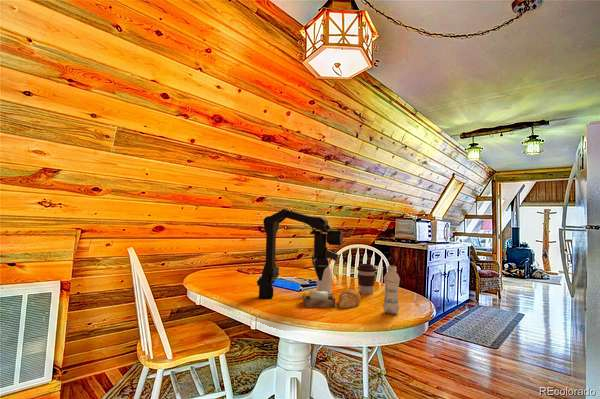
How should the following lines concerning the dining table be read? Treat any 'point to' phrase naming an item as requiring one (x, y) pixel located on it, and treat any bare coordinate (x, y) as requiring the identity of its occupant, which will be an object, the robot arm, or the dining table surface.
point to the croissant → (349, 298)
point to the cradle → (318, 302)
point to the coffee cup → (366, 278)
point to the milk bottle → (325, 280)
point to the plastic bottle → (391, 291)
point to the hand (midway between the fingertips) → (319, 278)
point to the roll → (318, 295)
